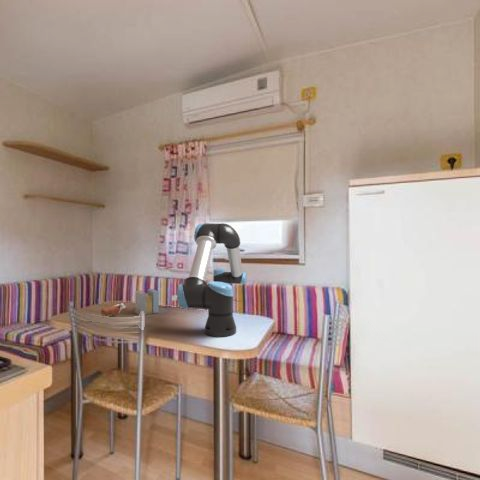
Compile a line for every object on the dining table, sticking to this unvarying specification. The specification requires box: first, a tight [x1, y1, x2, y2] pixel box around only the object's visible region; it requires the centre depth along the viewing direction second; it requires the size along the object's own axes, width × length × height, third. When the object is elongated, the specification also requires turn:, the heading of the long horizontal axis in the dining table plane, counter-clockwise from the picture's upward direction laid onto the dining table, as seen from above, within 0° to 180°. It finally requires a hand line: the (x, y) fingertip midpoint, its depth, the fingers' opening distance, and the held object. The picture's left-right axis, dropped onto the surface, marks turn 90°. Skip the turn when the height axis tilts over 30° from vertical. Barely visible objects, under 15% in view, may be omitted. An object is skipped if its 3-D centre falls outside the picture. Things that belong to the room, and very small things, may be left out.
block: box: [146, 293, 153, 315], centre depth 169 cm, size 4×8×10 cm, turn 35°
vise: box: [134, 290, 170, 316], centre depth 171 cm, size 17×11×13 cm, turn 125°
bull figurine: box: [100, 302, 126, 317], centre depth 159 cm, size 4×13×8 cm, turn 138°
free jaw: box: [147, 288, 160, 314], centre depth 172 cm, size 3×10×12 cm, turn 35°
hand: (171, 298), depth 178 cm, fingers closed
